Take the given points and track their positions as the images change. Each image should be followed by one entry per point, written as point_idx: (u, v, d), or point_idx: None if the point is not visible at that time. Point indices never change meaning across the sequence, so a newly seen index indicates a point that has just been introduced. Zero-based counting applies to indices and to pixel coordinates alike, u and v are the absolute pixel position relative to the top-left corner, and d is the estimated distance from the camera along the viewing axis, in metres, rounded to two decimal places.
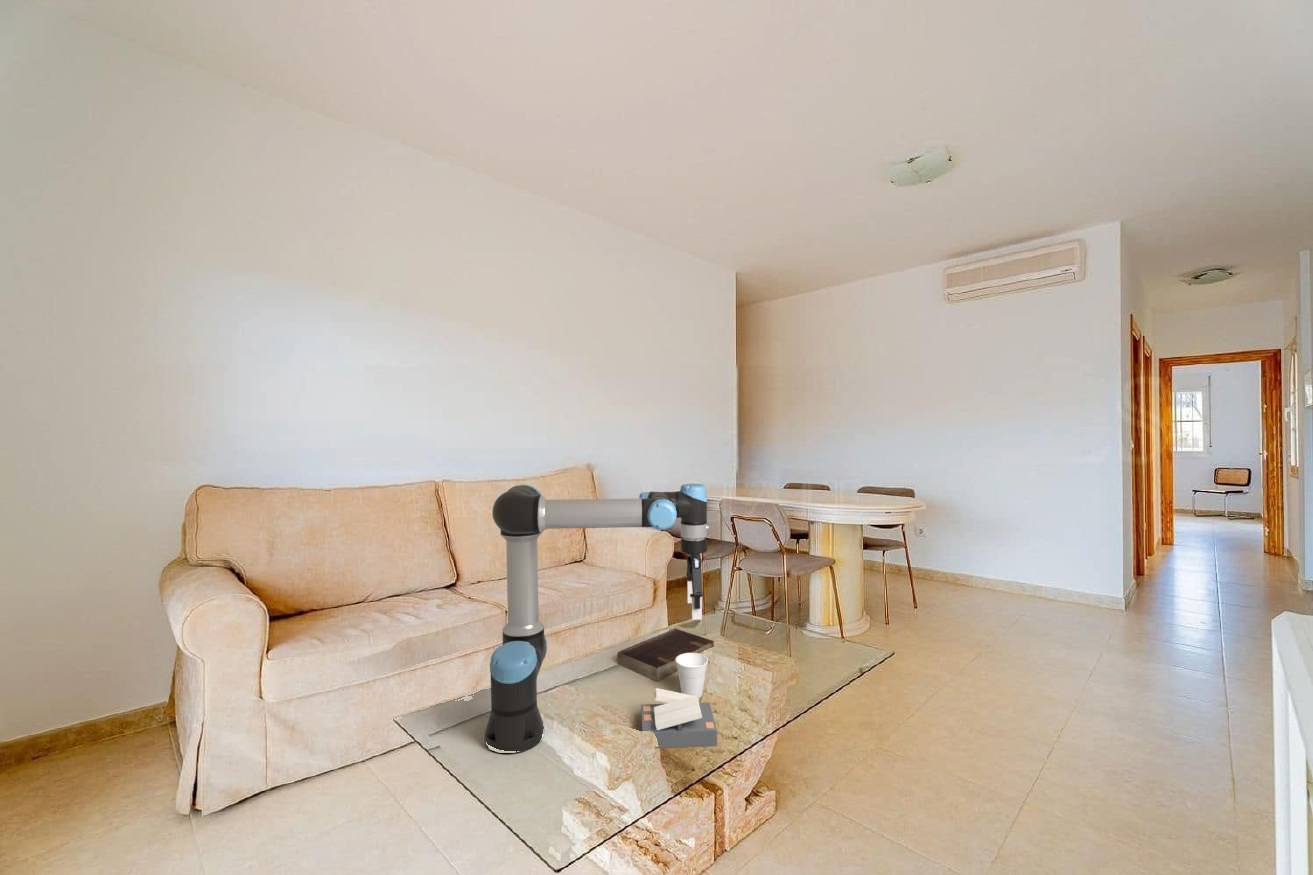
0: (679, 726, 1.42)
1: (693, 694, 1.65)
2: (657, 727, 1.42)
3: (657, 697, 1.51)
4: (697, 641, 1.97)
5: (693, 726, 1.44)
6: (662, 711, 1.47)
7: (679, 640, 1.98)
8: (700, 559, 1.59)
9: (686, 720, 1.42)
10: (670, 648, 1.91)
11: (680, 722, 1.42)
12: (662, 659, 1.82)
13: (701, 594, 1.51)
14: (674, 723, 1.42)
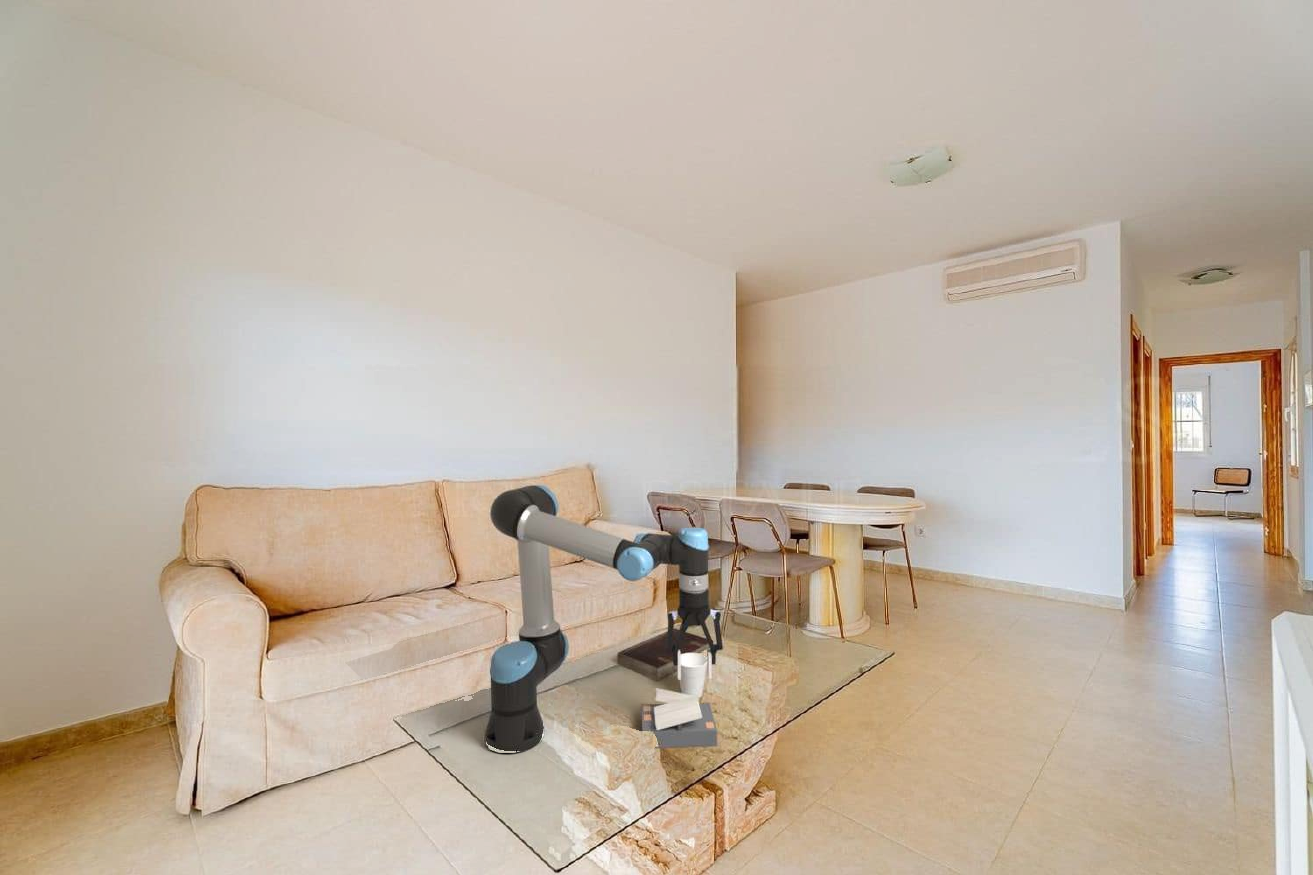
0: (679, 726, 1.42)
1: (693, 694, 1.65)
2: (657, 727, 1.42)
3: (657, 697, 1.51)
4: (696, 640, 1.98)
5: (693, 726, 1.44)
6: (662, 711, 1.47)
7: None
8: (688, 614, 1.41)
9: (686, 720, 1.42)
10: None
11: (680, 722, 1.42)
12: (662, 659, 1.82)
13: (666, 649, 1.42)
14: (674, 723, 1.42)
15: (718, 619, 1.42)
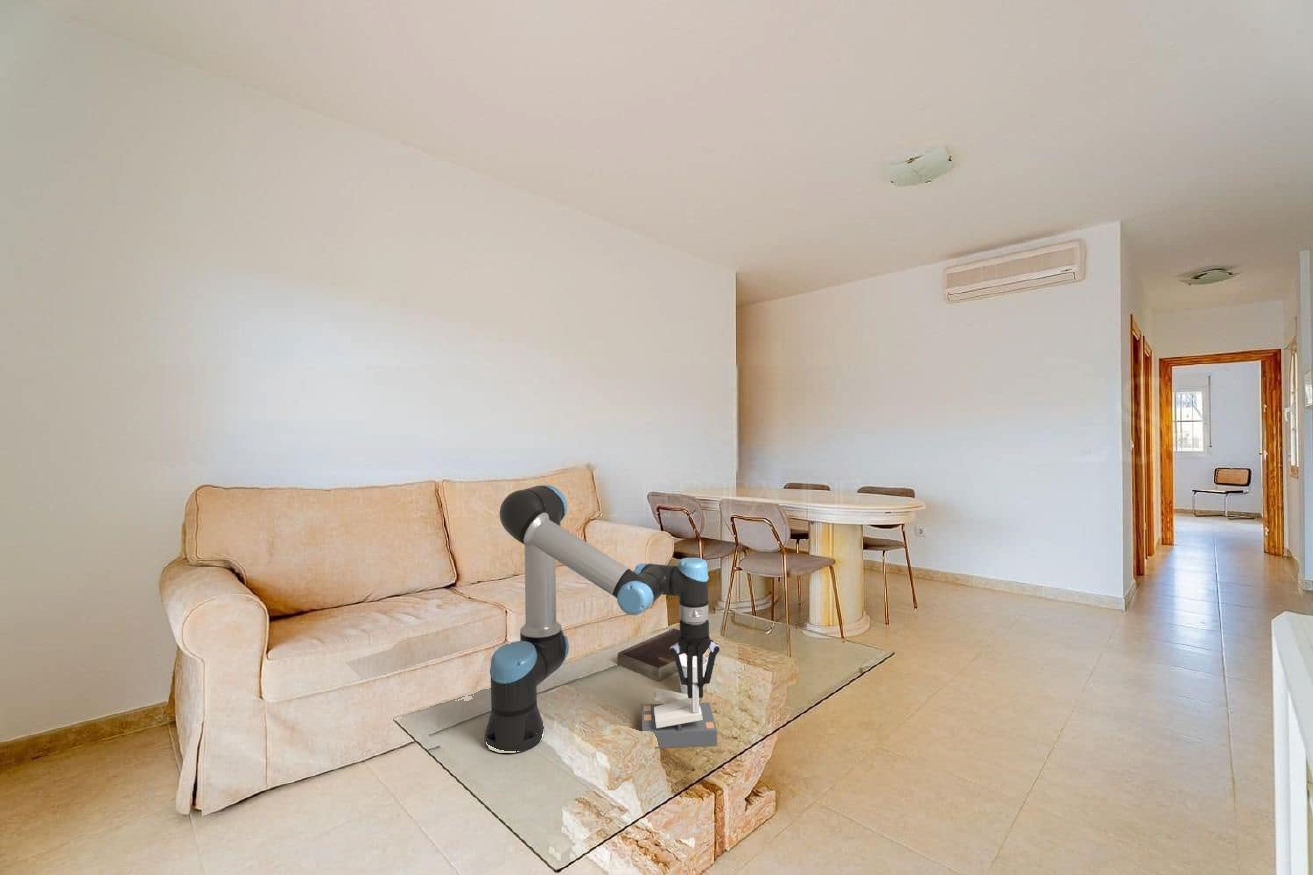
0: (679, 726, 1.42)
1: None
2: (657, 725, 1.42)
3: (657, 697, 1.51)
4: None
5: (693, 726, 1.44)
6: (662, 711, 1.47)
7: None
8: (688, 646, 1.41)
9: (686, 721, 1.42)
10: None
11: (680, 722, 1.42)
12: (663, 659, 1.82)
13: (681, 682, 1.42)
14: (674, 723, 1.42)
15: (715, 653, 1.42)
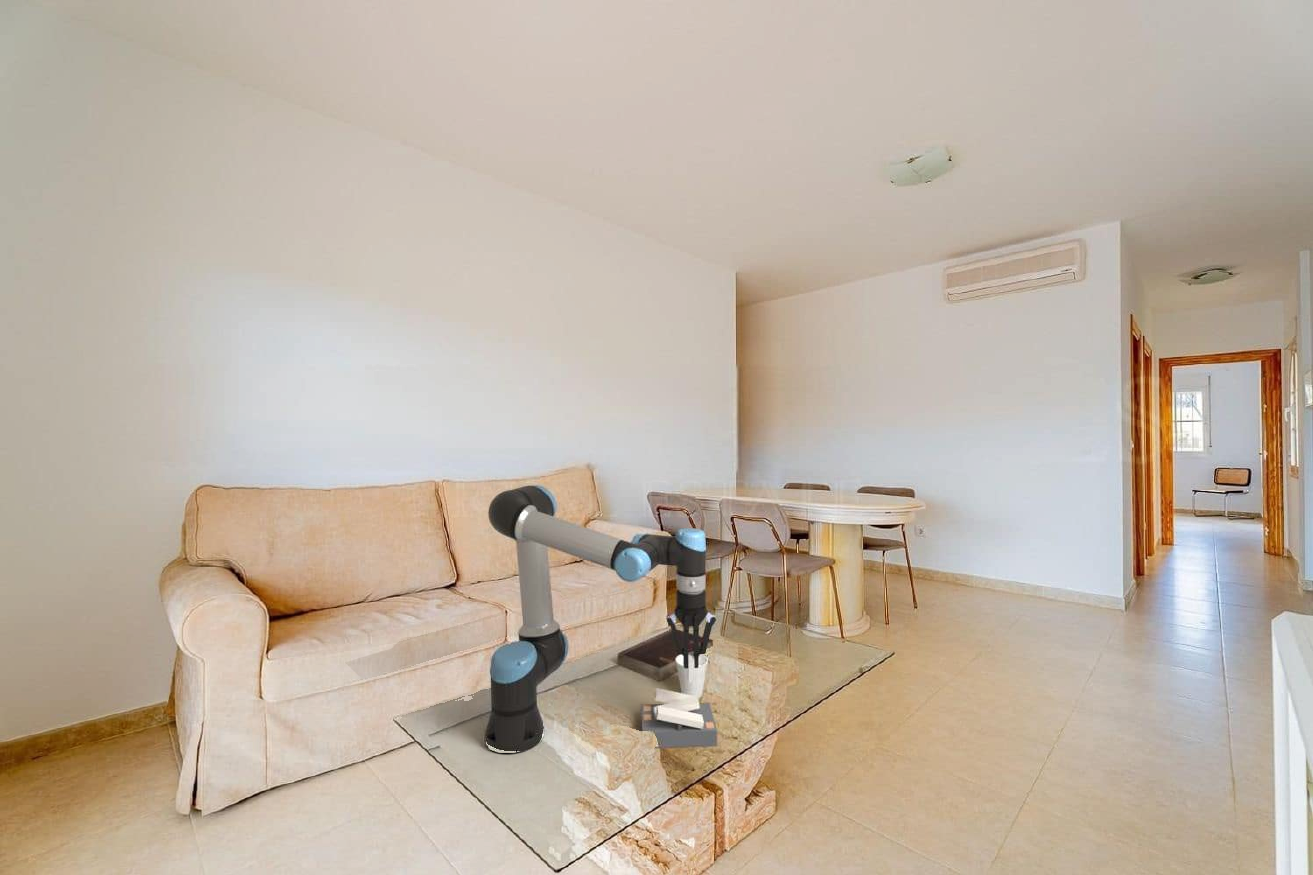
0: (679, 726, 1.42)
1: (693, 694, 1.65)
2: (658, 716, 1.42)
3: (657, 697, 1.51)
4: None
5: None
6: None
7: (679, 640, 1.98)
8: (684, 615, 1.41)
9: (687, 723, 1.42)
10: (671, 648, 1.91)
11: (681, 722, 1.42)
12: (663, 659, 1.82)
13: (677, 652, 1.43)
14: (675, 721, 1.42)
15: (711, 624, 1.42)
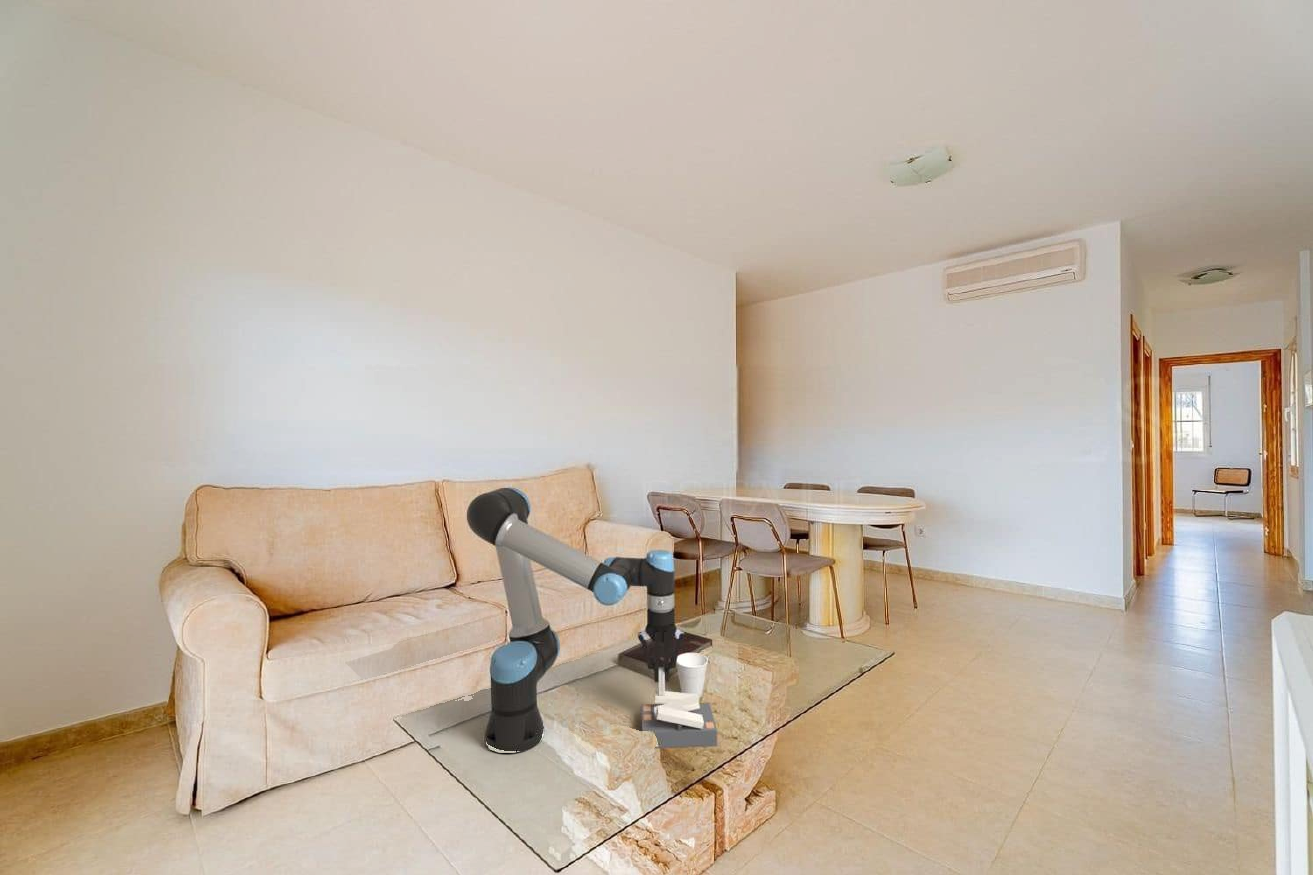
0: (679, 726, 1.42)
1: None
2: (658, 716, 1.42)
3: (656, 699, 1.51)
4: (695, 640, 1.98)
5: None
6: None
7: None
8: (654, 632, 1.50)
9: (687, 723, 1.42)
10: (671, 648, 1.91)
11: (681, 722, 1.42)
12: None
13: None
14: (675, 721, 1.42)
15: (680, 640, 1.51)
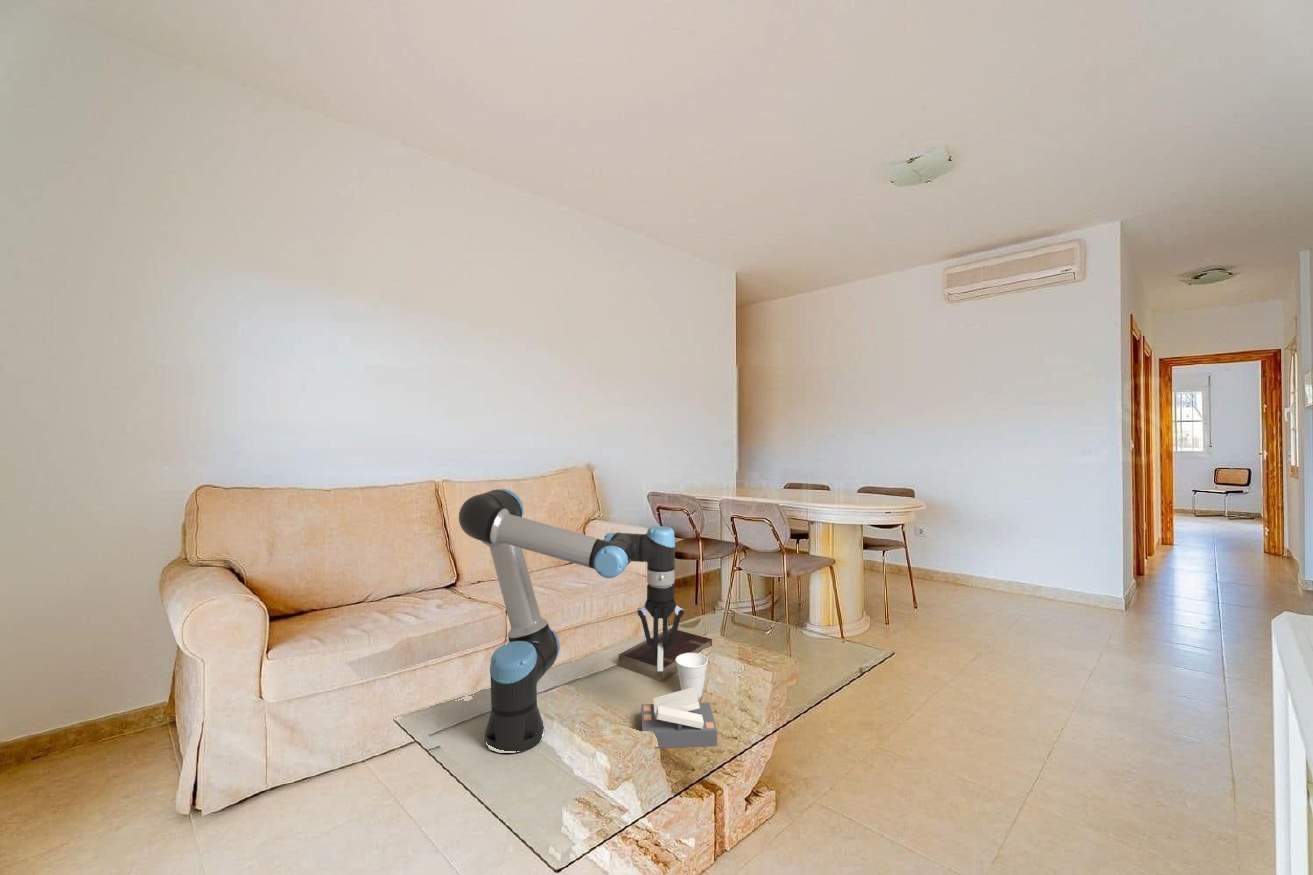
0: (679, 726, 1.42)
1: None
2: (658, 716, 1.42)
3: None
4: (695, 639, 1.99)
5: None
6: None
7: (678, 640, 1.98)
8: (654, 608, 1.50)
9: (687, 723, 1.42)
10: (671, 648, 1.91)
11: (681, 722, 1.42)
12: (665, 659, 1.82)
13: None
14: (675, 721, 1.42)
15: (680, 616, 1.51)
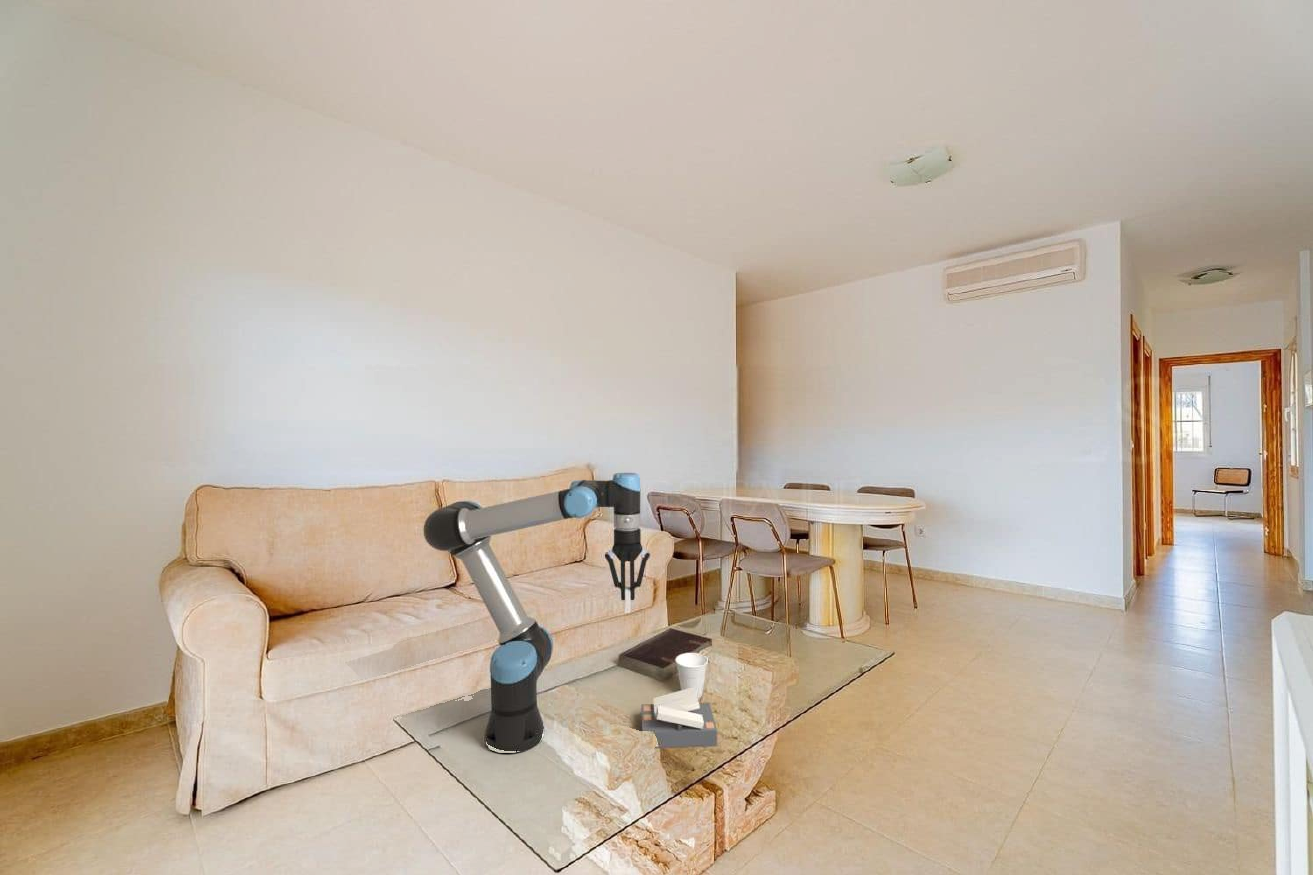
0: (679, 726, 1.42)
1: None
2: (658, 716, 1.42)
3: None
4: (695, 639, 1.99)
5: None
6: None
7: (678, 640, 1.99)
8: (620, 551, 1.54)
9: (687, 723, 1.42)
10: (671, 648, 1.92)
11: (681, 722, 1.42)
12: (665, 659, 1.82)
13: None
14: (675, 721, 1.42)
15: (646, 559, 1.55)
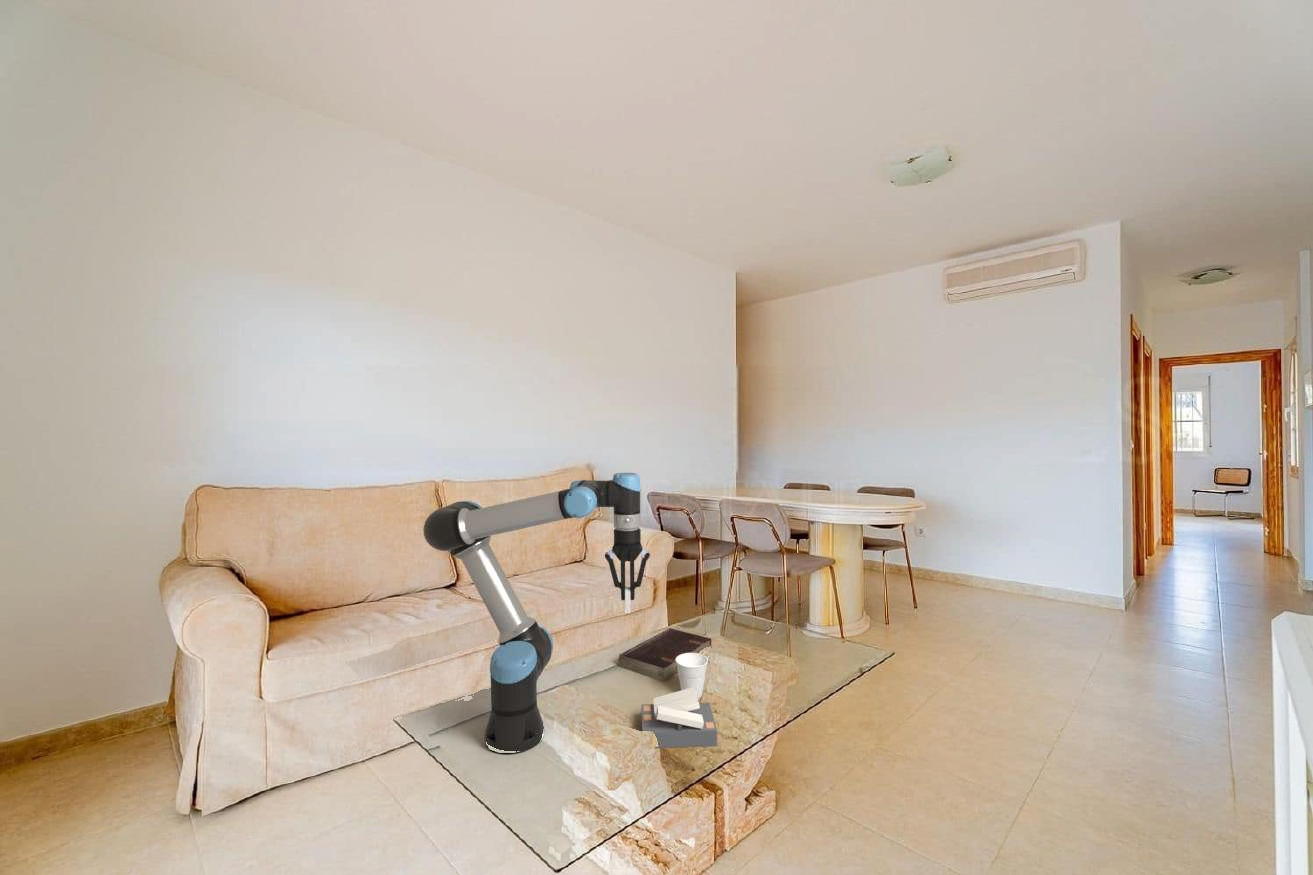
0: (679, 726, 1.42)
1: None
2: (658, 716, 1.42)
3: None
4: (695, 639, 1.99)
5: None
6: None
7: (678, 640, 1.99)
8: (620, 551, 1.54)
9: (687, 723, 1.42)
10: (671, 648, 1.92)
11: (681, 722, 1.42)
12: (666, 659, 1.82)
13: None
14: (675, 721, 1.42)
15: (646, 559, 1.55)
